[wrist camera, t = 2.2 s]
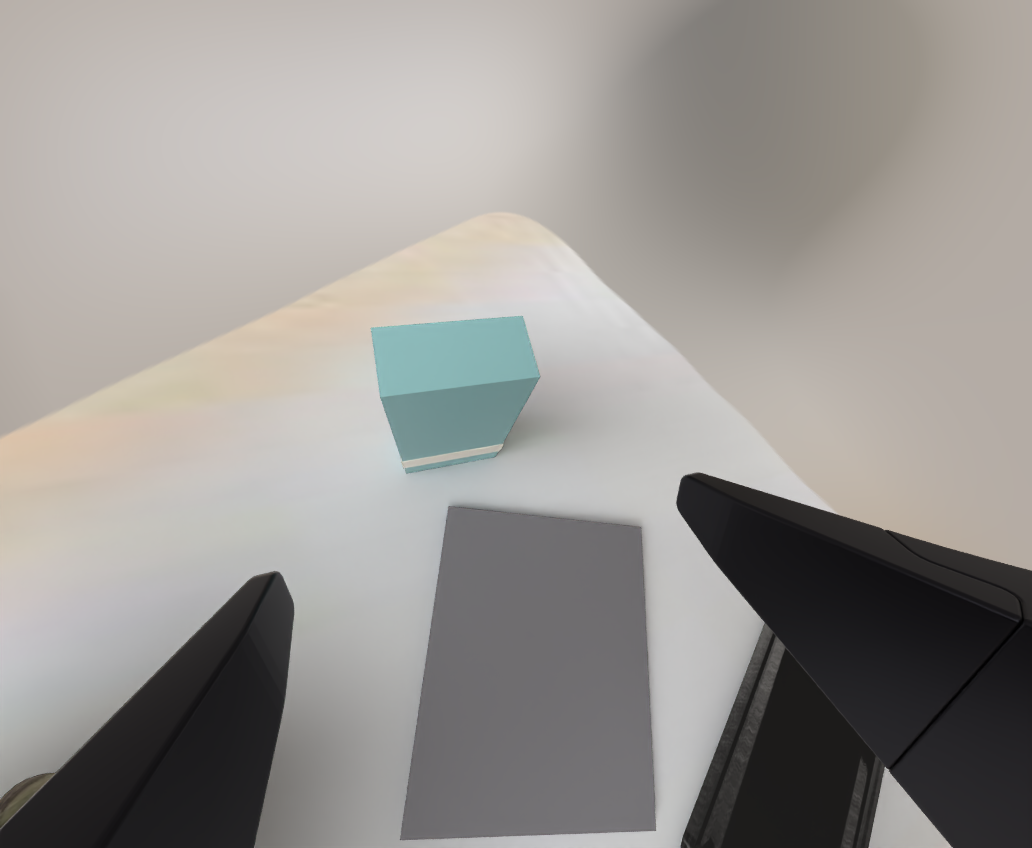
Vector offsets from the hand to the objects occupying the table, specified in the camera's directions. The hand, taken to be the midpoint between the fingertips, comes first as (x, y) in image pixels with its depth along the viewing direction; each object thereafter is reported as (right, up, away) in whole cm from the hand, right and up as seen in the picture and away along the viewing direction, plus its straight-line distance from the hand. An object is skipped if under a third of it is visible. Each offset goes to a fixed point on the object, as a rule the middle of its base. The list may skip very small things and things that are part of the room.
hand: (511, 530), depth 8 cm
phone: (+15, -15, +11) cm, 24 cm away
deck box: (-4, +1, +13) cm, 13 cm away
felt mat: (+1, -9, +10) cm, 14 cm away
